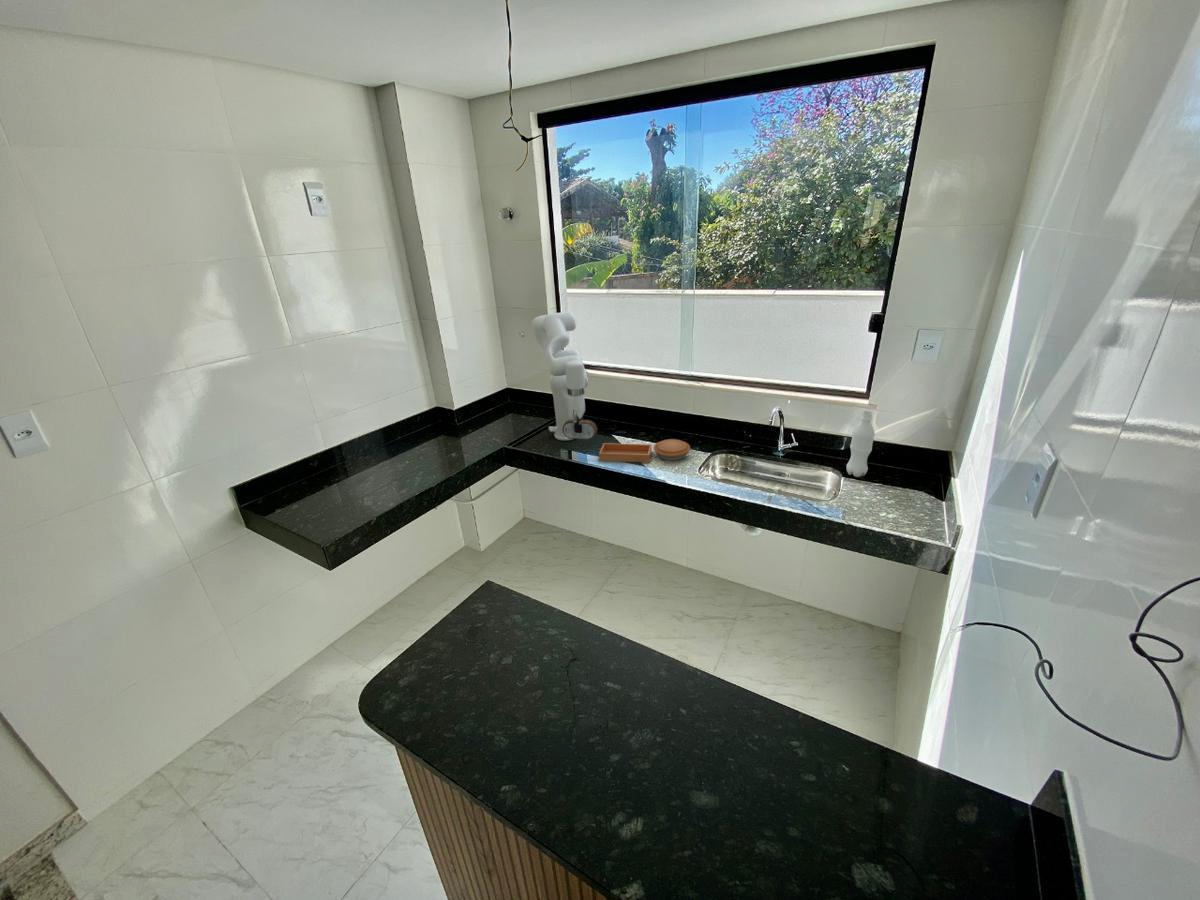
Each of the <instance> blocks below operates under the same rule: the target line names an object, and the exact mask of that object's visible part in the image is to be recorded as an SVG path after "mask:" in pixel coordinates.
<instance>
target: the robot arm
mask: <svg viewBox="0 0 1200 900" xmlns="http://www.w3.org/2000/svg"><path fill="white" fill-rule="evenodd" d="M531 327H532V328H531V329H532V332H533V336H534V338H535V339H536V341H537V343H538V344H539V345H540V347H541V349H542V352H543V354H544V355H543V356H544V359H545V362H546V365H547V367H548V370H549V372H550V374H551V375H550V376H549V381H548V382H549V385H550V390H551V394H552V397H553V407H554V416H555V426H548V431H549V433H554V434H553V435H554V436H553V437H554V438H555V440H558V441H565V442H566V441H572V440H574V439H570V438H567V437H566V436H565V435H564V433H563V430H562V429H563V425H564V423H565V422H566V421H568V420H571V419H572V420H573V423H574V429H575V433H582V424H581V420H584V414H585V412H586V401H585V400H586V399H585V395H586V394H587V393H586V388H587V387H588V385H589V379H588V375H587V371H586V368H585V365H584V362H583V359H582V356H581V354H580V353H579V351H578V350H576V349H574V348H571V349H570V348H569V349H565V348H566V347H567V346H568V345H569V343H570V336H569V334H568V332H572V331H575V329H576V328H577V319H576V317H575V315H574V314H573V312H571V311H562V312H555V313H550V314H544V315H539V316H536V317H535V318H534V319H532V322H531ZM578 420H579V421H578Z"/></svg>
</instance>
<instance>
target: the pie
mask: <svg viewBox="0 0 1200 900" xmlns="http://www.w3.org/2000/svg"><path fill="white" fill-rule="evenodd" d="M653 450H654V451H655V453H656V454H657V455H658V457H659V458H660V459H662V460H664V461H679V460H682V459H683V458H685V456H687V454H688V453H689V452H690V451H691V445H690V444H689V443H688V442H686V441H684V440H680V439H677V438H676V439H675V438H669V439H664V440H663V439H662V440H661V441H657V442H656V443H655V444H654V446H653Z"/></svg>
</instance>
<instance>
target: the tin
mask: <svg viewBox="0 0 1200 900" xmlns="http://www.w3.org/2000/svg"><path fill="white" fill-rule="evenodd" d="M578 421H579V420H578ZM581 424H582V433H575V429H574V423H573V420H572V419H571V420H568V421H566V422H565V423H564V425H563V429H562V430H563V433H564V435H565V436H566V437H567V438H570V439H573V440H586V441H587V440H588V441H590V440H592V439H594V437H596V435H597V433H598V426H597V425H596V423H595V422H593V420H590V419H583V420H581Z"/></svg>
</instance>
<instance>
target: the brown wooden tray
mask: <svg viewBox="0 0 1200 900" xmlns="http://www.w3.org/2000/svg"><path fill="white" fill-rule="evenodd" d="M652 449H653V447H652V444H648V443H647V444H643V443H615V442H613V443H610V442H604V443H602V446H601V448H600V450H599V453H598V457H599V459H598V460H599V462H617V463H618V462H619V463H620V462H623V463H647V464H648V463H650V460H651V457H652V452H653V451H652Z"/></svg>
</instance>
